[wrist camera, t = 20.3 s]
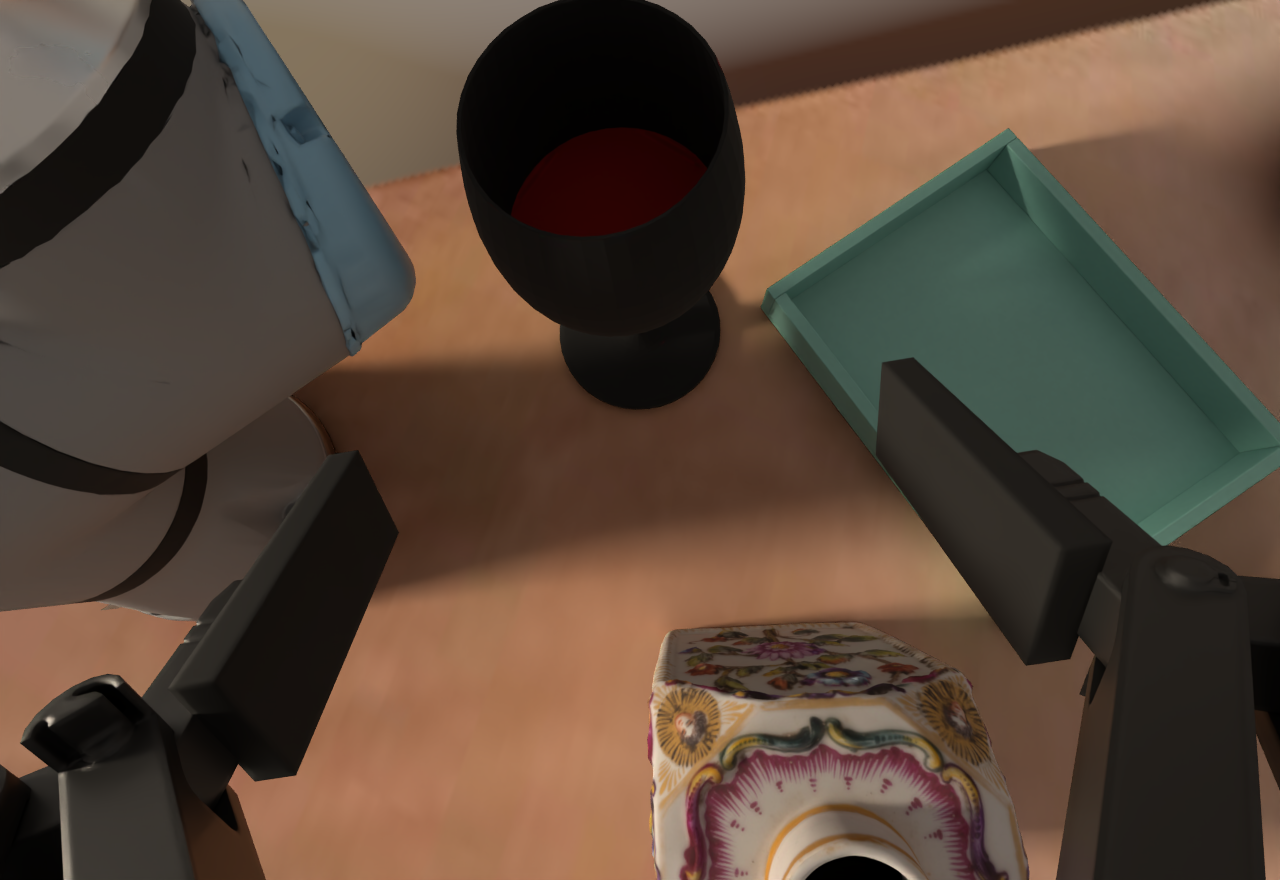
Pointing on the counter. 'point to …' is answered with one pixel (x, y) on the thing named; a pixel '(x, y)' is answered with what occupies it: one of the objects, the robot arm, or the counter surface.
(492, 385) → the counter surface
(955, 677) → the decorative jar
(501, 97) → the wine glass
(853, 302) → the tray
